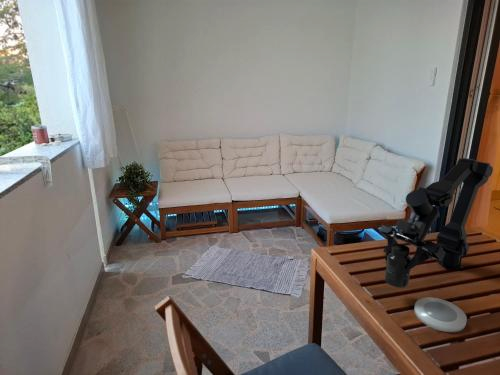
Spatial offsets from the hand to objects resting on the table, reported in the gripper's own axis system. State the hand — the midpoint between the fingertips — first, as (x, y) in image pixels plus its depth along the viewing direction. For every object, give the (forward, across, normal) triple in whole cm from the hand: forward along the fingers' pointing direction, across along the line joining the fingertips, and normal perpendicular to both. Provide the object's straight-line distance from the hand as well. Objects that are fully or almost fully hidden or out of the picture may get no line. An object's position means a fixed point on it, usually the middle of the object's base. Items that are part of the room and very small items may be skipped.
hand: (396, 264), depth 98 cm
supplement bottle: (+4, 0, +6) cm, 7 cm away
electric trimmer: (-5, -15, +23) cm, 28 cm away
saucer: (+6, +12, +12) cm, 18 cm away
